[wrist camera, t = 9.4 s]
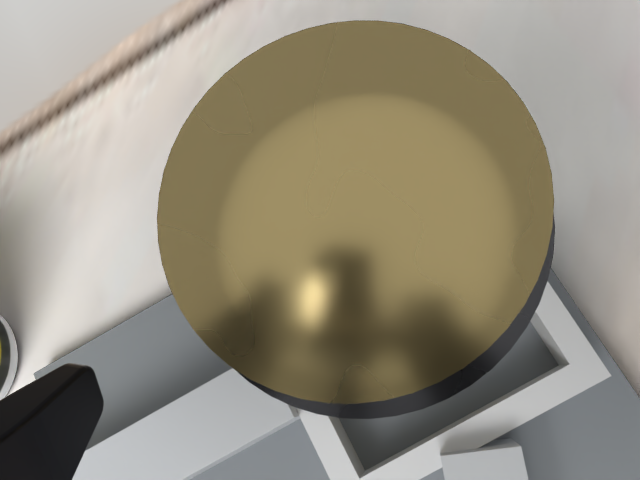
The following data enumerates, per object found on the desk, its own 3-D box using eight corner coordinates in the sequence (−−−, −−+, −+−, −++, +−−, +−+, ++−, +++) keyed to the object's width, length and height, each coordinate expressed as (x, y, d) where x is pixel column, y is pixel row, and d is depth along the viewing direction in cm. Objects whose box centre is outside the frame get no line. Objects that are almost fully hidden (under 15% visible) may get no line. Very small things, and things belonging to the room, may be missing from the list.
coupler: (502, 329, 18) (685, 202, 5) (401, 420, 18) (318, 534, 5) (409, 234, 20) (361, -68, 6) (315, 318, 20) (67, 192, 6)
